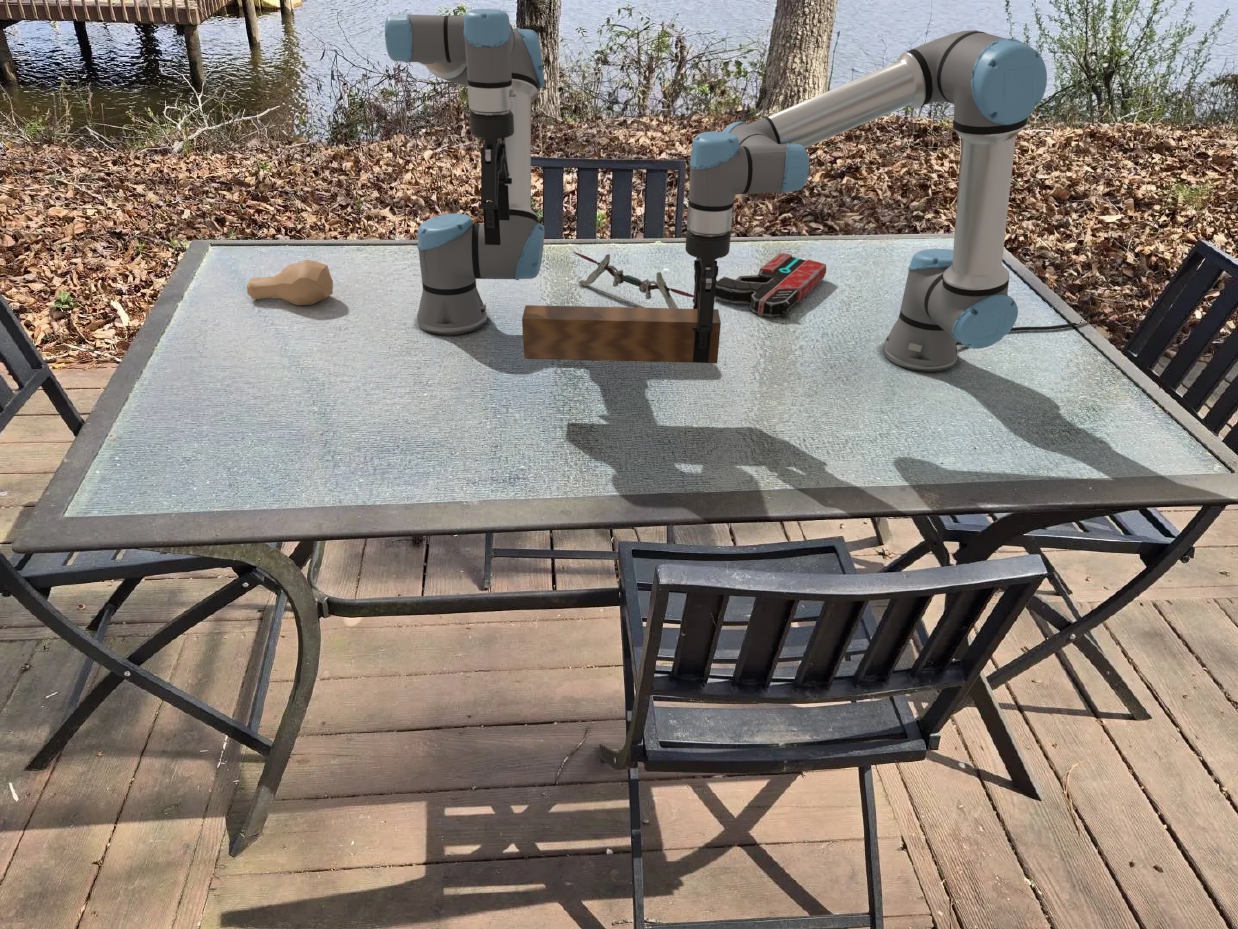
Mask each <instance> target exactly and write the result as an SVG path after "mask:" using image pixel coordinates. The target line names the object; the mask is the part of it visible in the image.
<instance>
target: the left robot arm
mask: <svg viewBox="0 0 1238 929" xmlns="http://www.w3.org/2000/svg"><path fill="white" fill-rule="evenodd" d="M384 38H385V39H384V41H385V47H386V51H387V55H388V57H389V58H390V60H391V61H394V62H401V63H407V64H408V63H419V64H421V65H423V66H425V68H426V69H427V70H428V71H429V72H430V73H431V74H432V75H433V76H435V77H437V78H440V79H441V80H443V81H448V82H451V83H453V84H457V85H460V86H467V99H468V100H467V101H468V109H469V110H470V111H471V112H470V113H469V124H470V126H469V127H470V133H471V135H472V136H473V137H475V138H478V139H479V138H481V139H482V140H483V141H484V142H483V143H482V146H481V147H480V151H479V153H480V154H479V155H480V203H478V204H477V205H478V206H477V208H478V210H482V215H483V216H482V217H483V218H482V219H483V223H480V222H479V223H477V222H476V223H475V222H474V221H473V219H472V217H471V216H470V215H469V214H466V213H464V214H463V213H459V212H456V213H446V214H441V215H436V216H433V217H431V218H428V219H426V220H424V221H423V222H422V223H421V224H419V226H418V229H414V230H413V234H416V235H417V247H416V248H417V250H418V258H419V267H420V275H421V276H420V277H421V284H422V292H421V297H420V302H419V305H418V310H417V315H416V318H417V325H418V326H419V328H420V329H421V330H423V331H424V332H427V333H430V334H433V335H440V336H459V335H465V334H469V333H473V332H476V331H477V330H480V329H481V328H483V327H484V326H485V325H486V323H487V320H488V316H487V304H486V303H485V304H484V302H483V299H482V298H481V295H480V293H479V291H478V288H477V280H515V281H520V280H531V279H535V278H537V276H538V275H539V273H540V271H541V267H542V260H543V254H544V245H545V230H546V228H545V225H544V224H542V223H540V222H539V216H538V214H537V213H536V212H535V211H534V210H533V209H532V103H533V102H534V101H535V100H536V99H537V98H538V96H539V90H541V89H543V88H544V87H545V77H544V76H545V75H544V74H545V73H544V67H543V57H542V50H541V44H540V38H539V34H538V33H537V32H536V31H535V30H533V29H528V28H526V29H525V28H520V27H515V28H514V27H513V25H512V24H511V22H510V16H509V13H507V12H506V11H504V10H501V9H495V8H477V9H476V8H475V9H469V10H467V11H466V12H465V13H464V15H448V14H447V15H437V14H436V15H435V14H411V13H410V14H409V13H405V12H404V13H399V14H389V15H388V16H387V17H386V19H385V22H384Z"/></svg>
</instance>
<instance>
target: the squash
mask: <svg viewBox="0 0 1238 929" xmlns="http://www.w3.org/2000/svg"><path fill="white" fill-rule="evenodd" d="M333 289H334V280H333V277H332V276H331V272H330V268H329V266H328V264H325V263H322V262H319V261H316V260H311V259H305V260H302V261H300V262H297V263H291V264H288V265H286V267H284V268H283V269H282V270H281V272H279V273H277V274H275V275H274V276H266V277H252V278H249V281H248V283H247V285H246V292H247V295H248V296H249V297H250V298H251V299H252V300H260V299H271V298H276V299H281V300H284V301H286V302H288V303H291V304H293V305H295V306H312V305H314V304H316V303H318V302H320V301H322V300H325V299H327V298H328V297H329V296H331V295H333V294H334V292H333V291H334V290H333Z"/></svg>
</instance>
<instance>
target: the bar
mask: <svg viewBox="0 0 1238 929" xmlns="http://www.w3.org/2000/svg"><path fill="white" fill-rule="evenodd" d="M697 310H698V309H693V308H679V307H678V308H669V307H644V308H642V307H634V306H633V307H632V306H631V307H627V306H625V307H624V306H623V307H622V306H587V305H586V306H585V305H583V306H582V305H581V306H577V305H540V304H539V305H537V304H535V305H534V304H525V306H524V310H523V314H522V318H521V326H522V328H521V329H522V347H523V348H522V349H523V360H541V361H542V360H543V361H583V362H584V361H585V362H586V361H589V362H631V363H632V362H634V363H637V362H638V363H678V364H679V363H680V364H682V363H683V364H688V363H689V364H694V363H693V354H694V340H695V331H692V327H696V326H697ZM721 324H722V322H721V317H720V312H719V308H714V311H713V324H712V327H713V330H712V332H711V336H710V348H709V360H708V363H707V364H718V362H719V361H718V358H719V347H720V338H721V326H722V325H721Z"/></svg>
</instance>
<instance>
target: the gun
mask: <svg viewBox="0 0 1238 929" xmlns="http://www.w3.org/2000/svg"><path fill="white" fill-rule="evenodd" d="M826 273H827V264H826V263H823V262H820V261H816V260H812V259H802V258H799V257H795V256H793V255H792V254H791V253H784V252H780V253H778V254H777V255H775V256H774V257H773V258H771V259H770V260H768V261H767V262H766V263H765V264H763V265H762V266H761V267H760V269H759V271H758V273H757V274H756V275H753V274H752V275H751V274H750V275H740V276H738V277H737V278H735V279H734V278H731V277H727V276H722V277H720V279H717V283H716V290H715V298H714V299H715V300H719V301H723V302H727V303H730V304H750V305H749V308H750V310H751V312H753V313H755V314H757V315H758V316H760V317H761V316H765V317H770V318H771V317H777V316H780V317H784V318H787V317H788V315H789V311H788V310H790V309H791V308H792V307H793V306H794V305H795V304H798V303H799V302H801V301H802V300H803V299H804V298H805V297H807V296H808V295H809V294H810V293H811V292H812V291H813V290H814V289H815V287H817V285H818V284H820V283H821V282H822V280H823V279H824V278H825V276H826Z"/></svg>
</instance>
